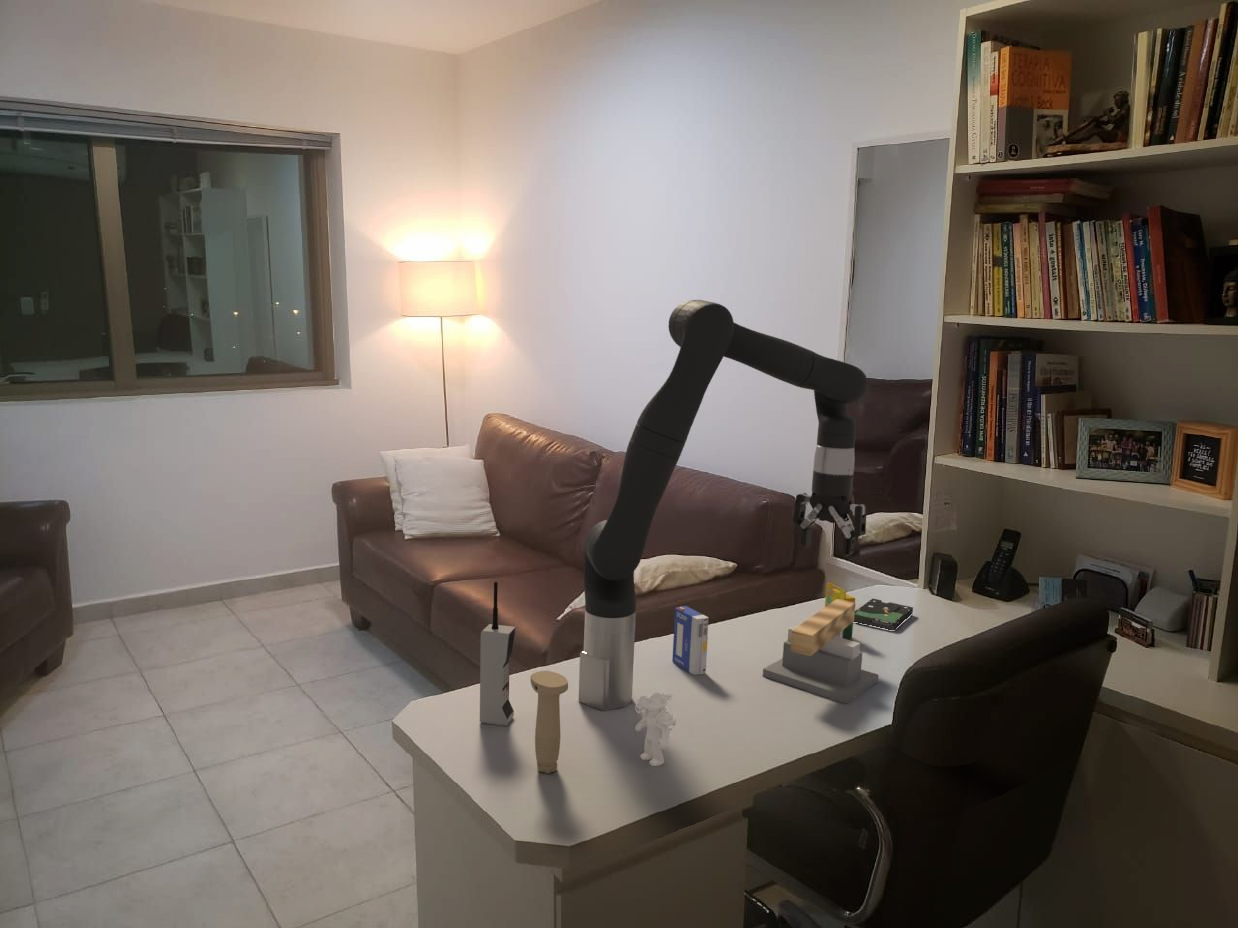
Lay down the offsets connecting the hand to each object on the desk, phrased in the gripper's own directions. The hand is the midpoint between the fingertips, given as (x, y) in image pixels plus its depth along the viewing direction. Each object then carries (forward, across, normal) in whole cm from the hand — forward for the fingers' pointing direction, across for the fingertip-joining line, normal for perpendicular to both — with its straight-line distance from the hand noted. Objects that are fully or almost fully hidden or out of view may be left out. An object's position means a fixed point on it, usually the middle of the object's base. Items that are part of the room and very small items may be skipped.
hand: (826, 551), depth 179 cm
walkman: (+26, -21, -14) cm, 36 cm away
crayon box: (+26, -8, +25) cm, 37 cm away
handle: (+27, -13, -63) cm, 69 cm away
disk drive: (+27, -6, +44) cm, 51 cm away
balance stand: (+26, +1, 0) cm, 26 cm away
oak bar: (+17, +1, +1) cm, 17 cm away
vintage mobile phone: (+27, -31, -57) cm, 70 cm away
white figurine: (+26, -3, -49) cm, 55 cm away
